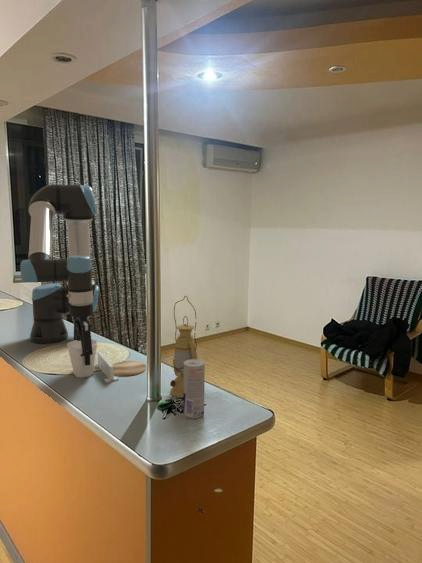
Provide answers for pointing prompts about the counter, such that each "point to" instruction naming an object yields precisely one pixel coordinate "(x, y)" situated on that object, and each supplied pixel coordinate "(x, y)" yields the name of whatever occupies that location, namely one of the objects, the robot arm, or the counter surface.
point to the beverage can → (194, 388)
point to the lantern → (182, 355)
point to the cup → (80, 357)
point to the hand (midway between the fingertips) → (83, 368)
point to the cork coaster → (128, 368)
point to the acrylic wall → (106, 368)
